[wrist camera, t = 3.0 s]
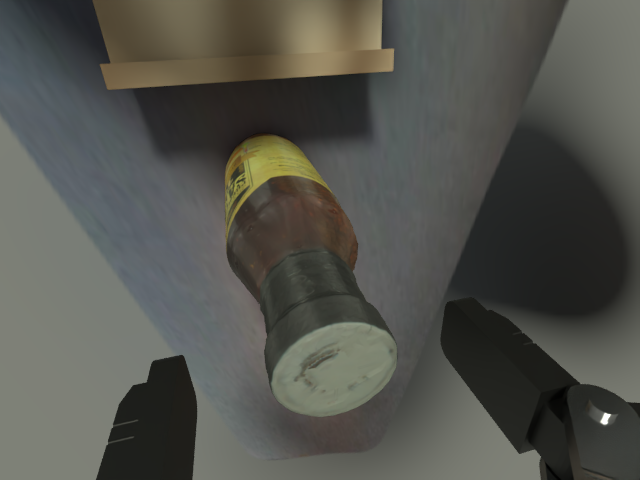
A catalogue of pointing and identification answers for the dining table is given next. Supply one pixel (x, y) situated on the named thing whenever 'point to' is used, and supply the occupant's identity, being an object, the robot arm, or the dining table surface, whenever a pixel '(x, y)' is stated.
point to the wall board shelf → (238, 40)
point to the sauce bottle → (303, 280)
